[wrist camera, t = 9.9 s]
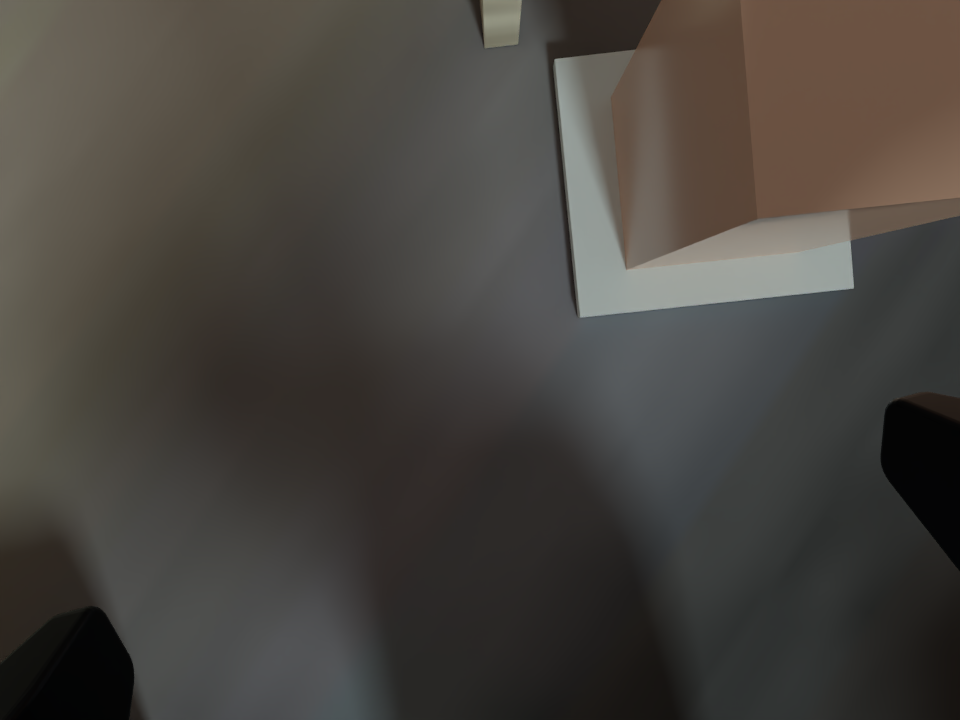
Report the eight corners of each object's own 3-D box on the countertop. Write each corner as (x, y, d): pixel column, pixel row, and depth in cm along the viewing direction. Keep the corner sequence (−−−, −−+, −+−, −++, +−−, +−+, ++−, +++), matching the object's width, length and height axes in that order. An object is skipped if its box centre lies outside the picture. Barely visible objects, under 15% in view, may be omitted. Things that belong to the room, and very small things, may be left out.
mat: (843, 289, 21) (853, 288, 20) (577, 317, 21) (580, 317, 20) (823, 35, 20) (833, 26, 20) (552, 66, 20) (555, 58, 20)
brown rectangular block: (797, 252, 20) (1103, 182, 10) (626, 270, 20) (757, 218, 10) (784, 78, 20) (1084, -173, 10) (610, 97, 20) (729, -132, 10)
